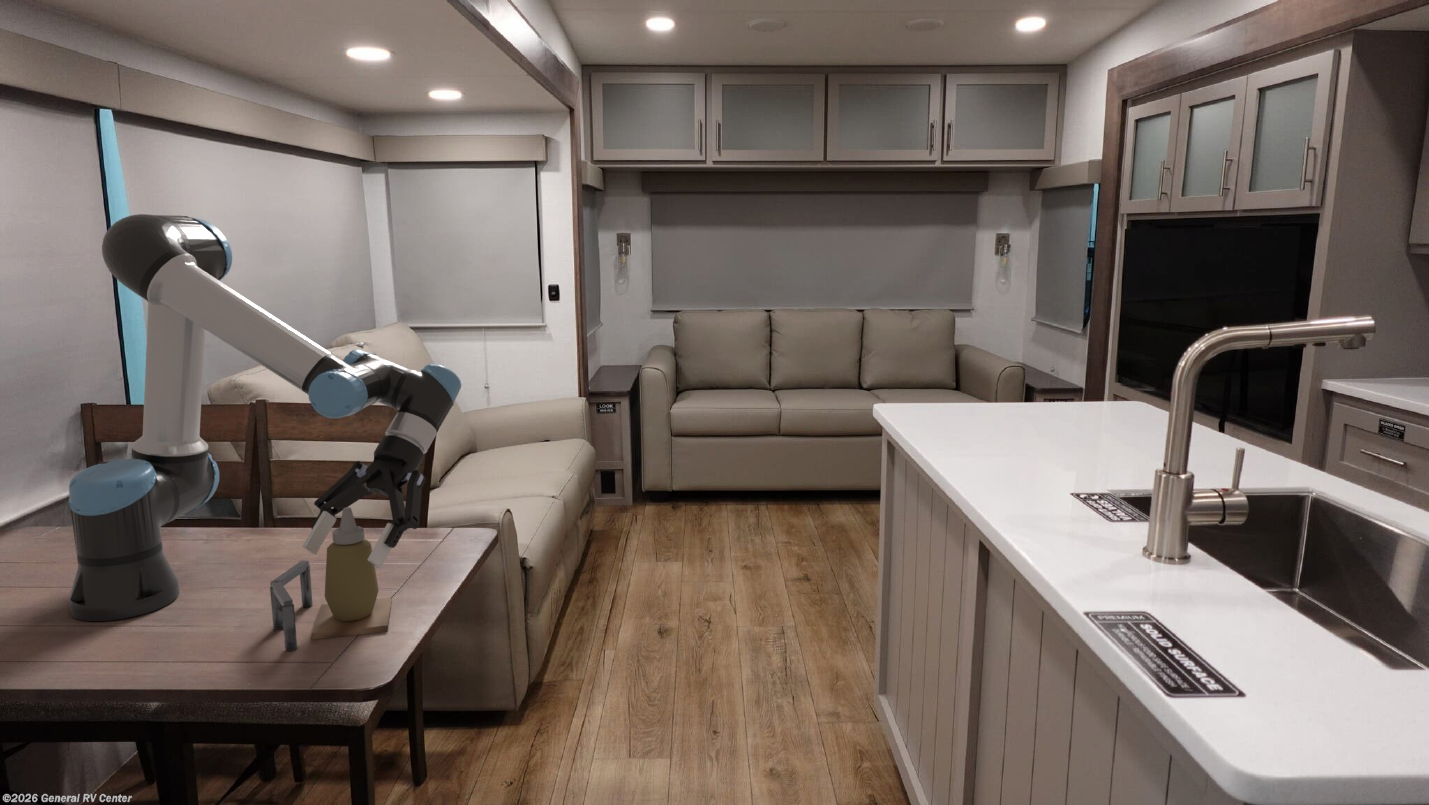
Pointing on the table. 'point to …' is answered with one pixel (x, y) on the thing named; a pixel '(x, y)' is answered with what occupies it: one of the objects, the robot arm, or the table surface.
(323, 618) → the pad
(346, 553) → the squeeze bottle
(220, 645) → the table surface
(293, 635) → the gray angled arch frame
